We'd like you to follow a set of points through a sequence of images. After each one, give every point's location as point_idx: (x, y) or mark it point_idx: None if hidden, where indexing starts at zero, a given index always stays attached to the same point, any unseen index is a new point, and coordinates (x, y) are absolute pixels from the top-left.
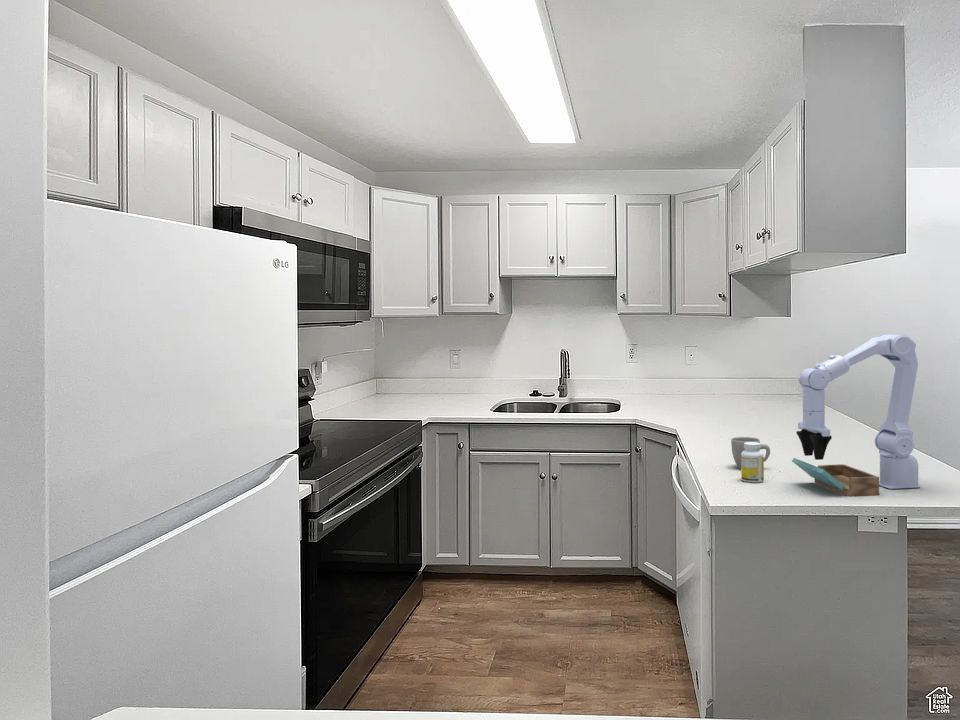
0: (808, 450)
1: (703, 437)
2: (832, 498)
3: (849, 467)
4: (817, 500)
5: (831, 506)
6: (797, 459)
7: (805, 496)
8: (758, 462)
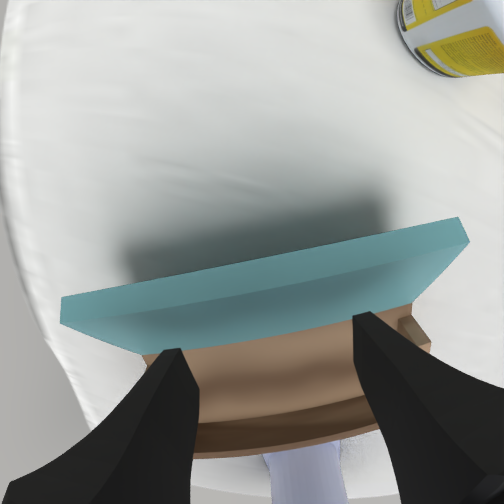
0: (368, 367)
1: None
2: (106, 278)
3: (356, 429)
4: (66, 213)
5: (9, 240)
6: (425, 250)
7: (121, 177)
8: (457, 8)
